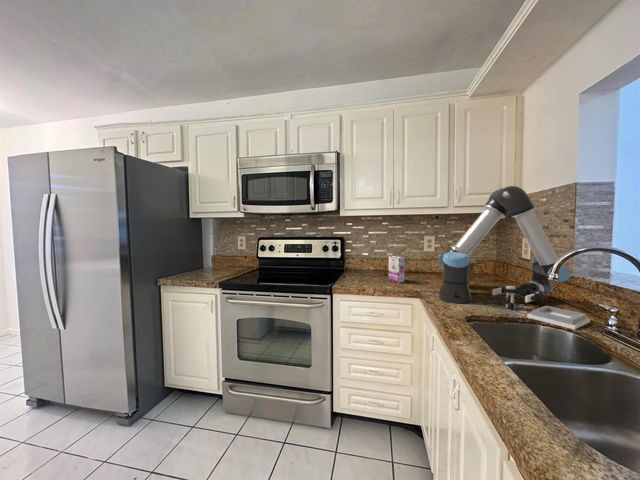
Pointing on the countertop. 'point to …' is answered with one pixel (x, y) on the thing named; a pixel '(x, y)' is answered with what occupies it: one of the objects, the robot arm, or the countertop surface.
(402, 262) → the candy bar box
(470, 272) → the plant pot
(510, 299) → the push button
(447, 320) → the countertop surface
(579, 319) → the tray
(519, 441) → the countertop surface
